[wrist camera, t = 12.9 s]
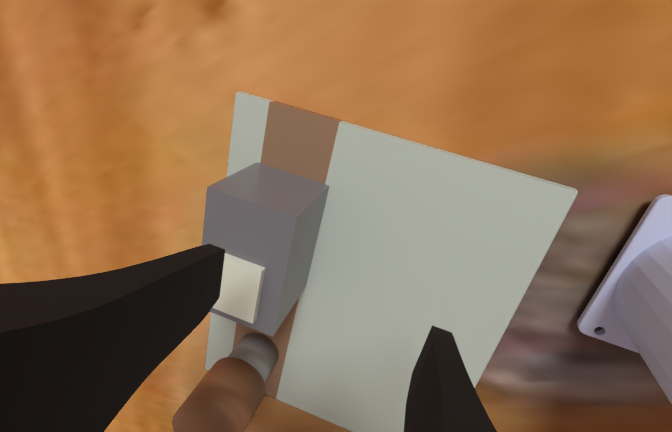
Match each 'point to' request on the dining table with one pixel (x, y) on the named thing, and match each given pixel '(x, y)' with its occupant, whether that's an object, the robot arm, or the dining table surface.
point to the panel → (389, 260)
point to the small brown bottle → (229, 389)
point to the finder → (263, 242)
